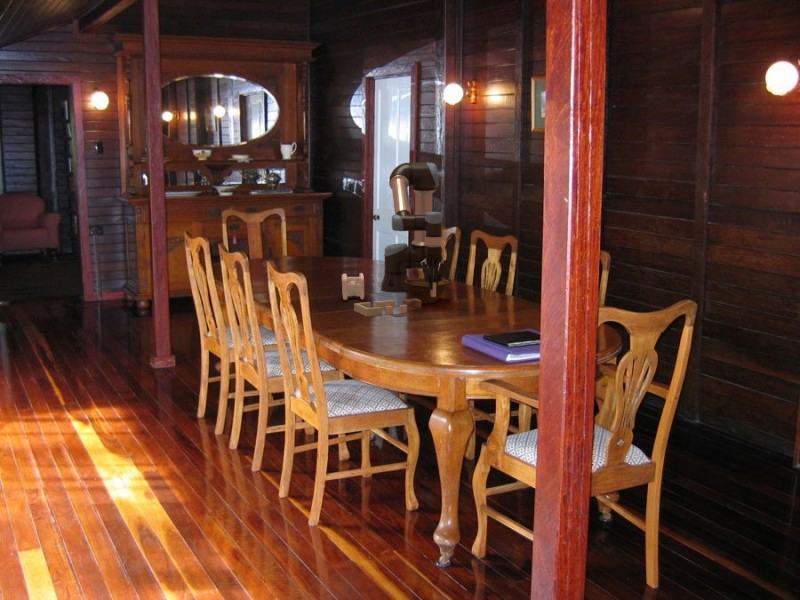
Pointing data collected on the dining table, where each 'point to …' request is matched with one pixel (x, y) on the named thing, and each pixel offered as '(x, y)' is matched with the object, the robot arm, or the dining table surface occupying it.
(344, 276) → the cable organizer
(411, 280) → the bowl
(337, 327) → the dining table surface
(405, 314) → the mat
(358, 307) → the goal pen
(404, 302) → the block
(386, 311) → the channel
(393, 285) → the robot arm
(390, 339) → the dining table surface
